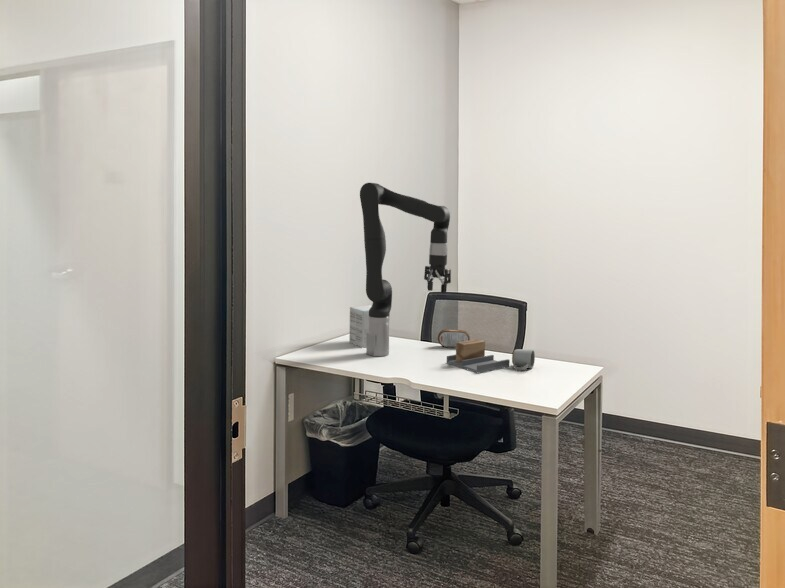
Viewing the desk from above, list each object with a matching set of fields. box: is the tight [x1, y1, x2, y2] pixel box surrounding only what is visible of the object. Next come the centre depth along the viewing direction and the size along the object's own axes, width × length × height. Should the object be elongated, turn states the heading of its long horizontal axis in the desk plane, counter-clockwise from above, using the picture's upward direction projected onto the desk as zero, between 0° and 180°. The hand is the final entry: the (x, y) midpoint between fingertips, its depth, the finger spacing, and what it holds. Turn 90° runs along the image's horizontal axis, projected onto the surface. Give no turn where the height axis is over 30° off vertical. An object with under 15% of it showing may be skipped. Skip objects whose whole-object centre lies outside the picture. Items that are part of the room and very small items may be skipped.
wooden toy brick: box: [455, 338, 486, 362], centre depth 261 cm, size 5×12×8 cm, turn 127°
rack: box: [446, 354, 510, 374], centre depth 258 cm, size 18×19×3 cm
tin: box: [437, 328, 471, 348], centre depth 290 cm, size 15×3×8 cm, turn 84°
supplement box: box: [348, 304, 372, 348], centre depth 293 cm, size 13×13×18 cm
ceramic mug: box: [511, 348, 536, 371], centre depth 254 cm, size 11×8×8 cm
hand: (436, 291), depth 261 cm, fingers open, 8 cm apart
